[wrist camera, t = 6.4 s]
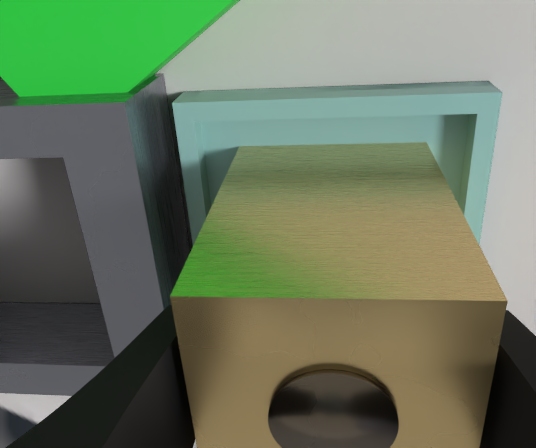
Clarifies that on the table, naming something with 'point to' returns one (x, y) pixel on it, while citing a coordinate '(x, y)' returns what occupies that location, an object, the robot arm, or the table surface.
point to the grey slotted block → (97, 229)
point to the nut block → (337, 304)
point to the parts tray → (340, 131)
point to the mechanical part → (95, 42)
